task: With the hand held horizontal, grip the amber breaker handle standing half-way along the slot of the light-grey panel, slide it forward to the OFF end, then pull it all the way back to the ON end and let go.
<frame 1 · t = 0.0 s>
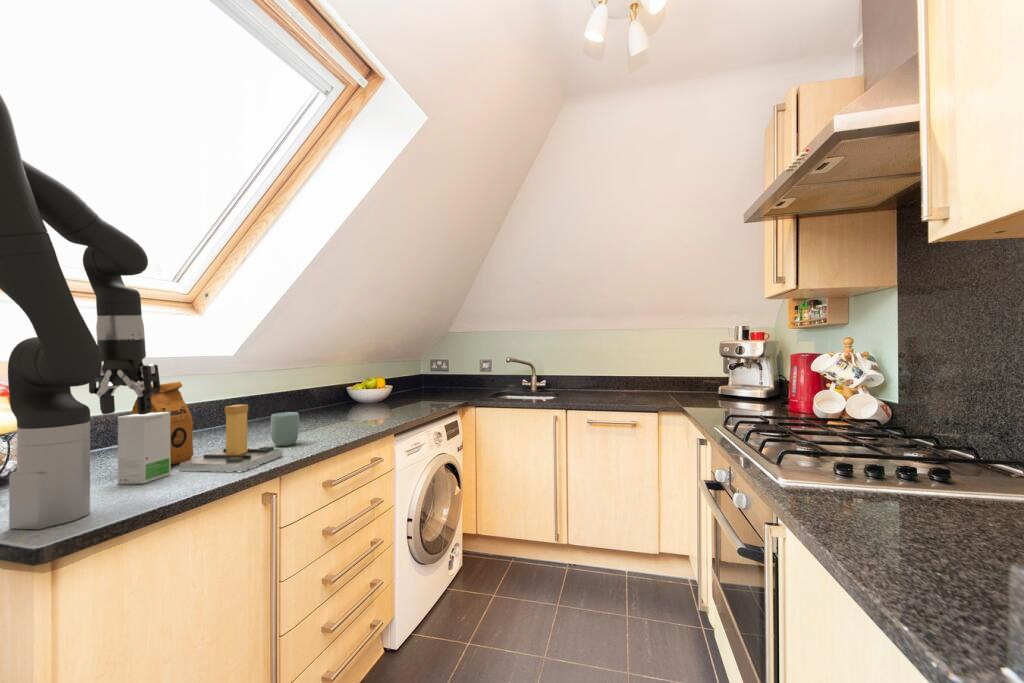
hand: (126, 413, 93), 17 cm above the countertop, tool pointing down, fingers open, 8 cm apart
coffee package: (163, 466, 117), on the countertop
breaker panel: (234, 463, 118), on the countertop
breaker handle: (236, 429, 119), point 9 cm above the countertop, slide at 0.0 cm
cup: (285, 445, 139), on the countertop
skincare box: (144, 480, 104), on the countertop
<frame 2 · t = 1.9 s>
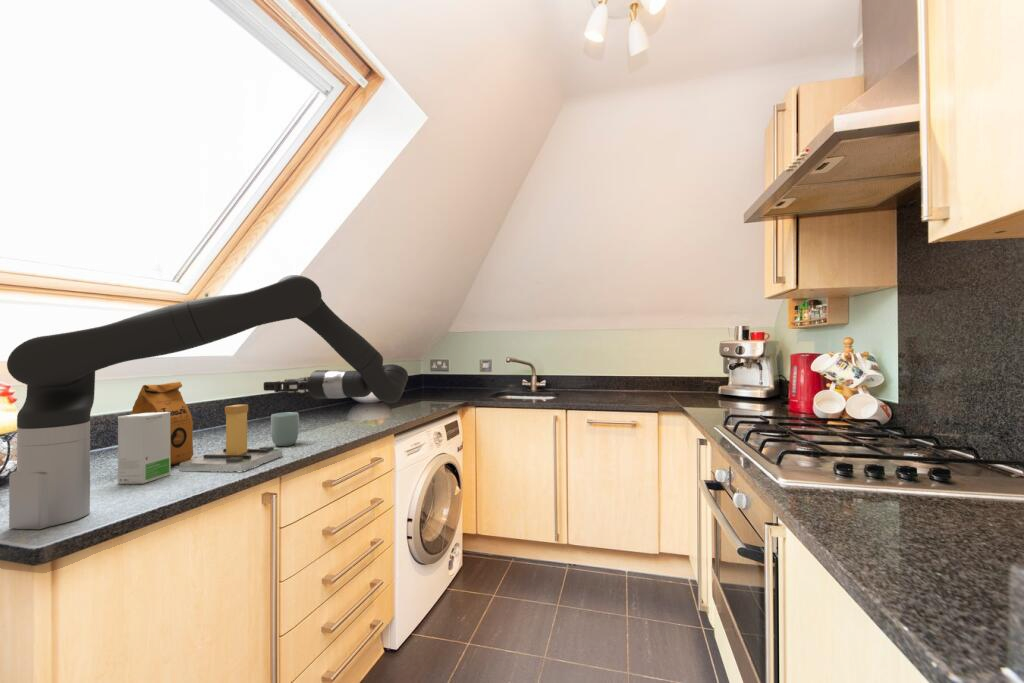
hand: (275, 384, 118), 21 cm above the countertop, tool horizontal, fingers open, 8 cm apart
nothing on the countertop moved.
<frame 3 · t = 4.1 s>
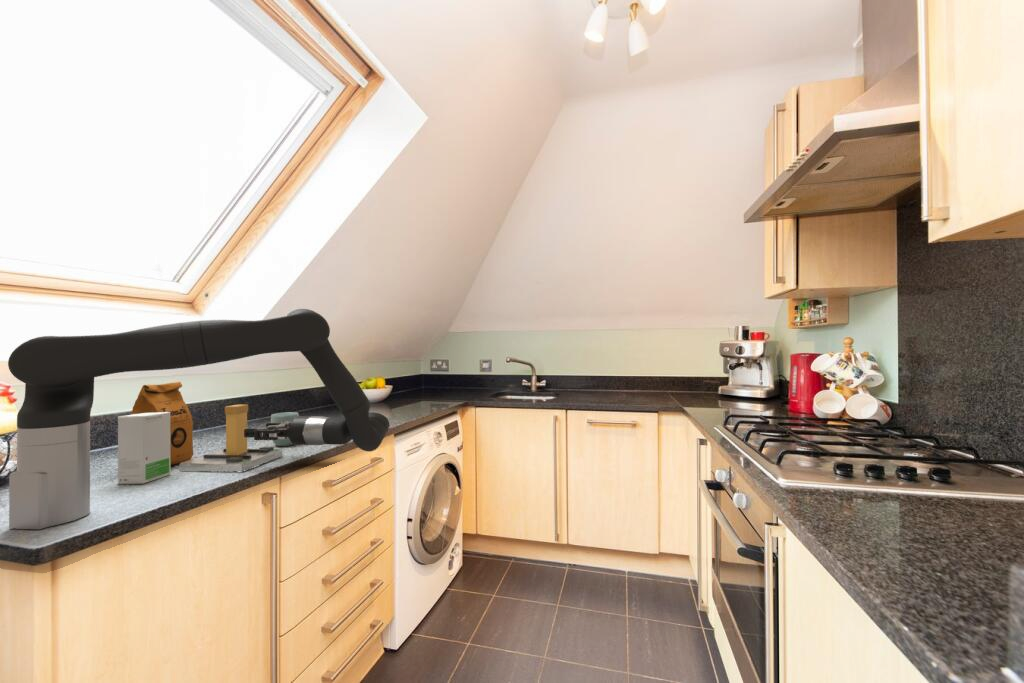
hand: (256, 429, 118), 9 cm above the countertop, tool horizontal, fingers open, 8 cm apart
nothing on the countertop moved.
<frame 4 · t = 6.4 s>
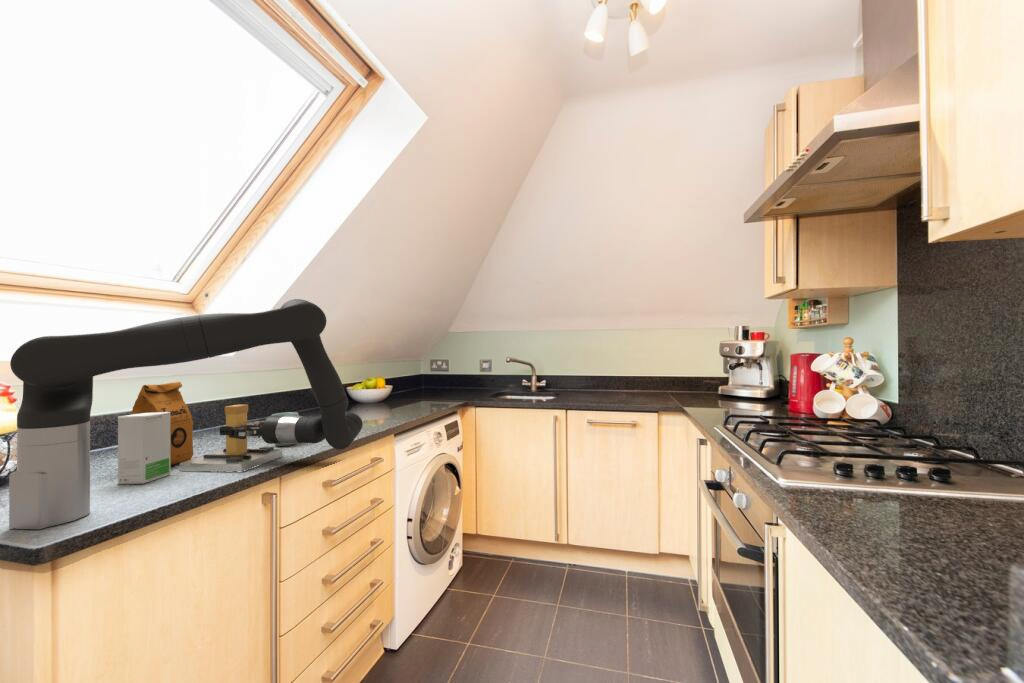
hand: (227, 429, 119), 9 cm above the countertop, tool horizontal, fingers closed on breaker handle, 4 cm apart
breaker handle: (236, 429, 119), point 9 cm above the countertop, slide at 0.0 cm, touching gripper
everything else where it was.
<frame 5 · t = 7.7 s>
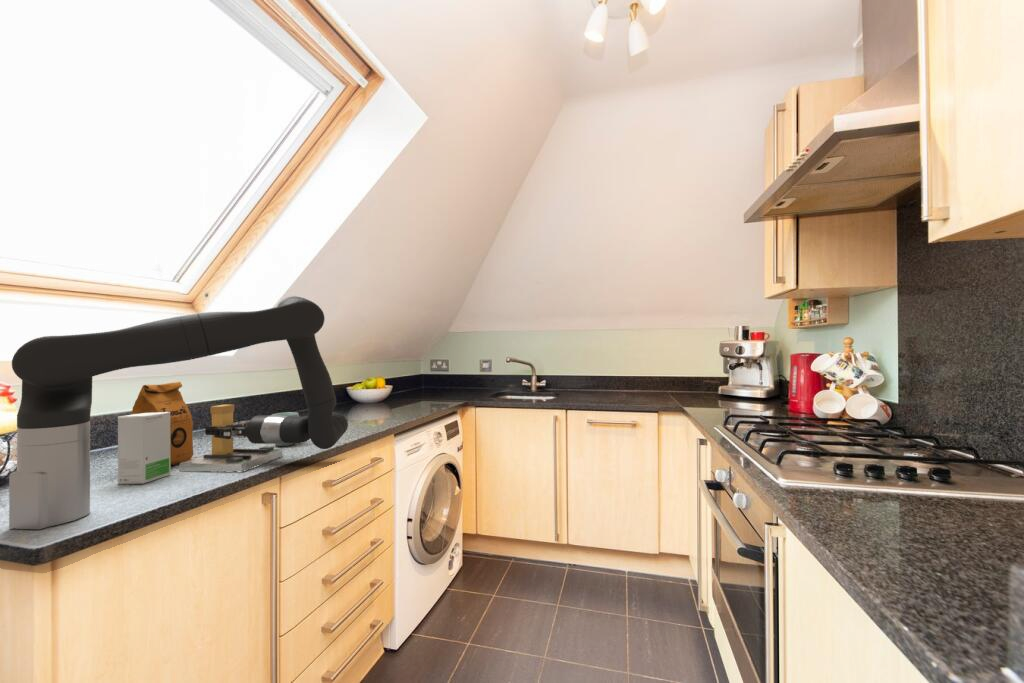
hand: (213, 428, 119), 9 cm above the countertop, tool horizontal, fingers closed on breaker handle, 4 cm apart
breaker handle: (222, 429, 119), point 9 cm above the countertop, slide at 4.2 cm, touching gripper
everything else where it was.
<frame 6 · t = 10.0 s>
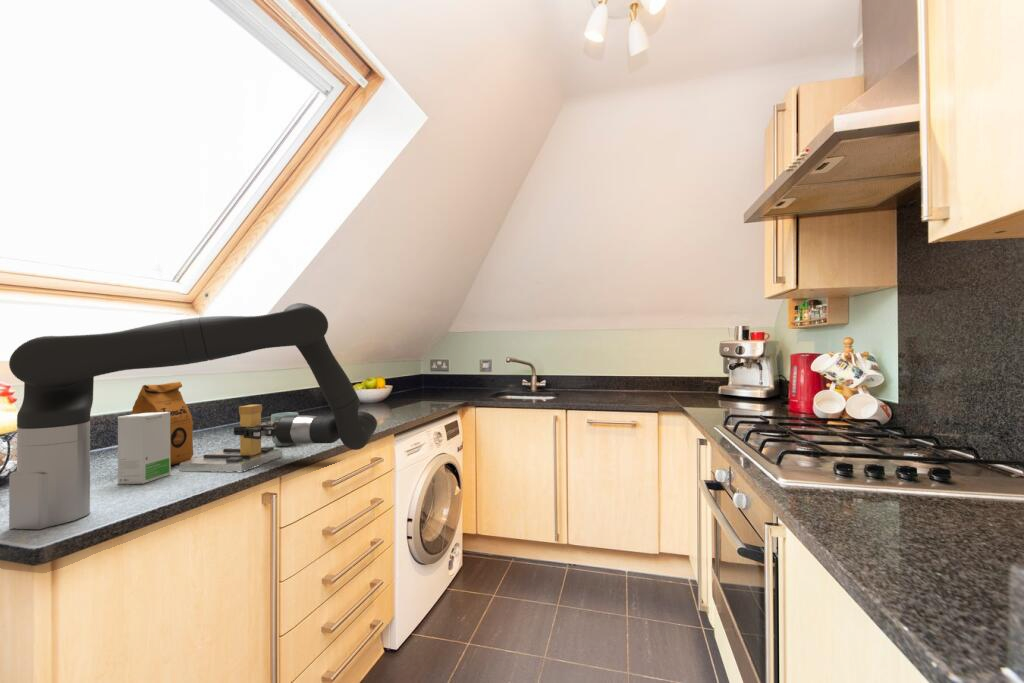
hand: (241, 429, 119), 9 cm above the countertop, tool horizontal, fingers closed on breaker handle, 4 cm apart
breaker handle: (250, 429, 118), point 9 cm above the countertop, slide at -4.1 cm, touching gripper
everything else where it was.
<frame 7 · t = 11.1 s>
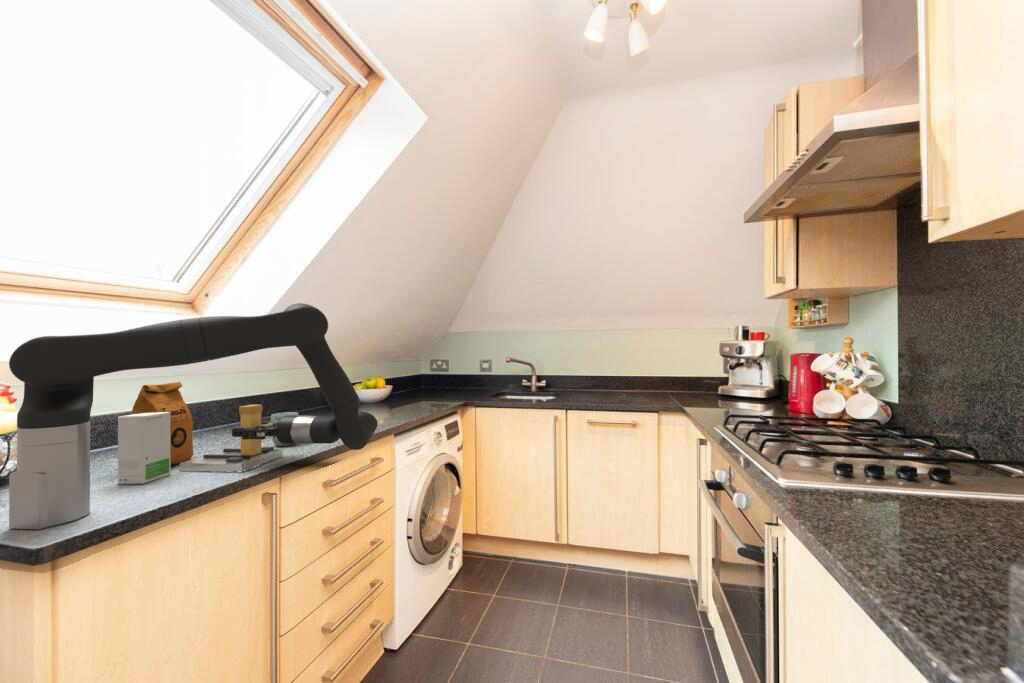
hand: (244, 429, 119), 9 cm above the countertop, tool horizontal, fingers open, 8 cm apart
breaker handle: (251, 429, 118), point 9 cm above the countertop, slide at -4.2 cm
everything else where it was.
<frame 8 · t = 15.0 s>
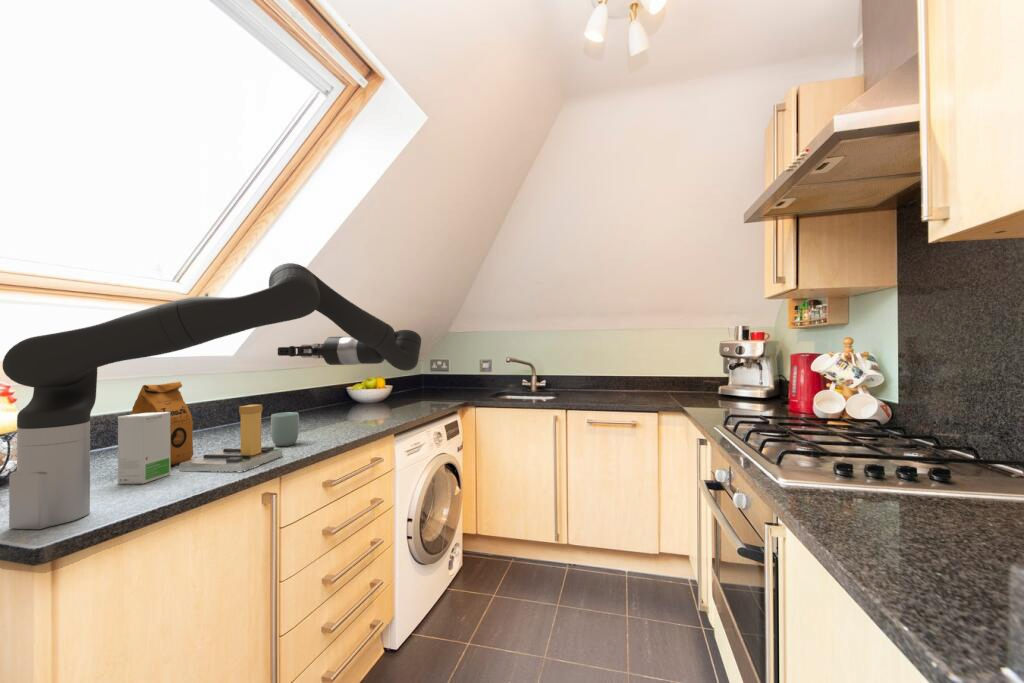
hand: (288, 351, 117), 30 cm above the countertop, tool horizontal, fingers open, 8 cm apart
nothing on the countertop moved.
at the end: breaker handle slide at -4.2 cm; the gripper is holding nothing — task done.
